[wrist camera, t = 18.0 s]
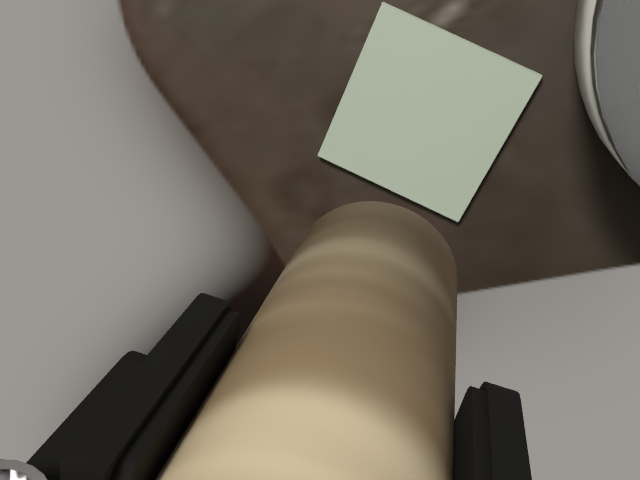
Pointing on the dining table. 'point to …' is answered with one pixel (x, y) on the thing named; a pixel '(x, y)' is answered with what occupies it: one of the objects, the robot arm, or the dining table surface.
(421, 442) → the beige cylinder
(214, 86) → the dining table surface
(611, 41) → the chuck collar
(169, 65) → the dining table surface
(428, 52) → the mat
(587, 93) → the chuck base
